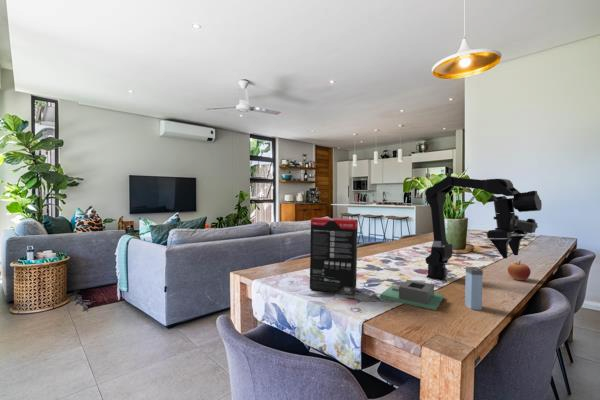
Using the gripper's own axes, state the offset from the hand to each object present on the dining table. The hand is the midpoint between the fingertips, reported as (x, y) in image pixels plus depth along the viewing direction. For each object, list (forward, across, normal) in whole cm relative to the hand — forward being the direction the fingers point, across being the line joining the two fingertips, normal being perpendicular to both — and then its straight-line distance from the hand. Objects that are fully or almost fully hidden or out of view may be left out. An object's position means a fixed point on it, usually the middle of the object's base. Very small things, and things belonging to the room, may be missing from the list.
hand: (510, 256), depth 103 cm
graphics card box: (+9, -49, +41) cm, 64 cm away
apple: (+14, +27, +8) cm, 32 cm away
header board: (+12, -31, +20) cm, 39 cm away
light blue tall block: (+14, -21, +5) cm, 26 cm away
